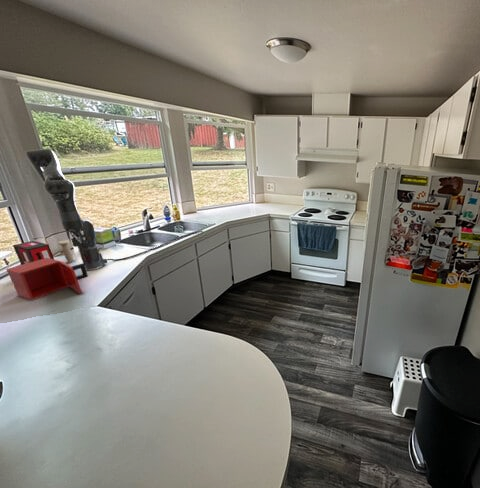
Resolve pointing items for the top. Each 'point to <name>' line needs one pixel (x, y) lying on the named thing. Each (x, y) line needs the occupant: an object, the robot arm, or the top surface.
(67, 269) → the red cabinet door
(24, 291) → the cabinet
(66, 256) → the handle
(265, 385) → the top surface
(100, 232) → the tea box
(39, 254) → the cleaning product box
